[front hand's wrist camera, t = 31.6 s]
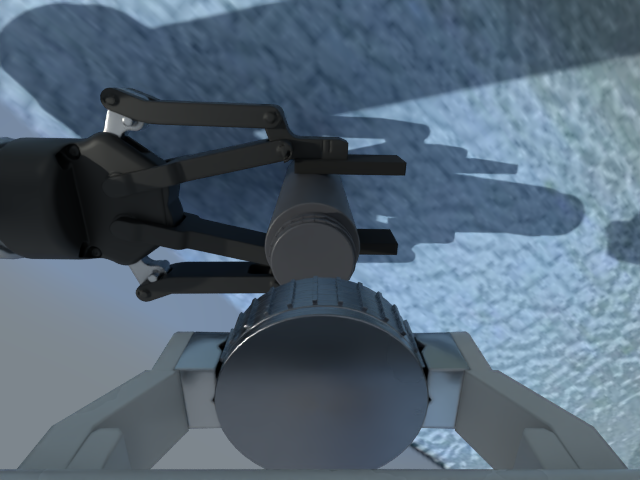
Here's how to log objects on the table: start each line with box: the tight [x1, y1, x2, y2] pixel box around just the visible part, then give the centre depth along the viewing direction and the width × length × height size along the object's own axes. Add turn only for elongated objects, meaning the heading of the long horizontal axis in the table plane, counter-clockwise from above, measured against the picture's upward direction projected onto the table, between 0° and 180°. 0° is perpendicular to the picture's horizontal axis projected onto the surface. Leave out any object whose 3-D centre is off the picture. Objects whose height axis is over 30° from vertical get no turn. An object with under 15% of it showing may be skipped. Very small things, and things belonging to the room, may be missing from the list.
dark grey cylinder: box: [265, 161, 360, 285], centre depth 23 cm, size 4×4×16 cm
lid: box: [214, 276, 429, 469], centre depth 9 cm, size 5×5×2 cm
